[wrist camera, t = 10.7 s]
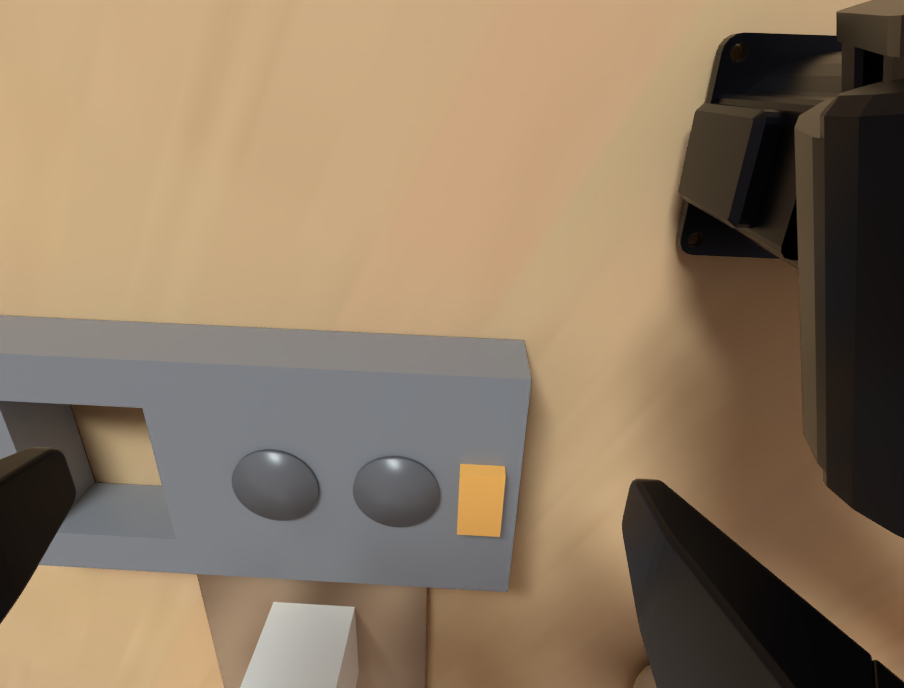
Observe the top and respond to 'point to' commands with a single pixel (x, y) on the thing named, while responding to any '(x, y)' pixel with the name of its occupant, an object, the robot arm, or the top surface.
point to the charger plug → (305, 648)
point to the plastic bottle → (645, 679)
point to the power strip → (282, 449)
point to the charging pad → (376, 606)
